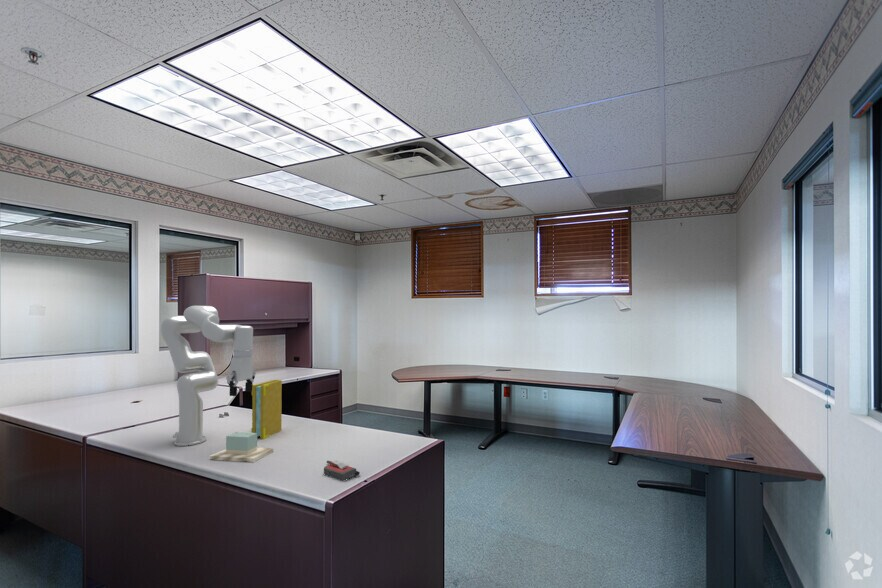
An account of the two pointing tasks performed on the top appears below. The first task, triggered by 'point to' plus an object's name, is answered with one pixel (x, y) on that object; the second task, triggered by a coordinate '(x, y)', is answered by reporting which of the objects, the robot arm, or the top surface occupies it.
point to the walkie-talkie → (340, 470)
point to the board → (240, 457)
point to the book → (266, 408)
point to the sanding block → (241, 443)
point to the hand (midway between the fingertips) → (241, 393)
